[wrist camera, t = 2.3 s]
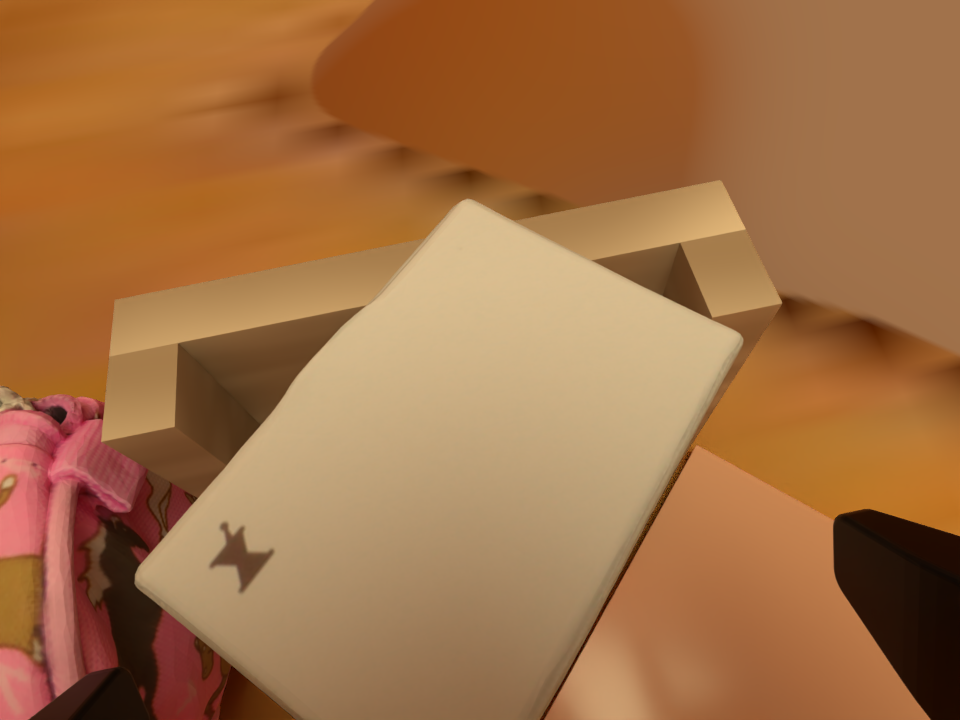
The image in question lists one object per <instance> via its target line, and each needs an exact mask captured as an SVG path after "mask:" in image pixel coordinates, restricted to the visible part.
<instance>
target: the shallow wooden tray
mask: <svg viewBox="0 0 960 720" xmlns="http://www.w3.org/2000/svg"><path fill="white" fill-rule="evenodd" d="M514 222H516V223H518V224H520V225H522V226H524V227H526V228H528V229H530V230H532V231H534V232H536V233H538V234H540V235H542V236H544V237H546V238H548V239H550V240H552V241H554V242H556V243H558V244H560V245H562V246H564V247H566V248H568V249H570V250H572V251H574V252H576V253H578V254H580V255H582V256H584V257H586V258H588V259H590V260H592V261H594V262H595V263H597V264H599V265H601V266H603V267H605V268H607V269H609V270H611V271H613V272H615V273H617V274H619V275H621V276H623V277H625V278H627V279H629V280H631V281H633V282H634V283H636V284H638V285H640V286H642V287H645V288H647V289H649V290H651V291H653V292H655V293H657V294H659V295H661V296H663V297H665V298H667V299H670V300H672V301H674V302H676V303H678V304H680V305H682V306H684V307H686V308H688V309H690V310H692V311H694V312H696V313H698V314H701V315H703V316H705V317H707V318H709V319H711V320H713V321H715V322H718V323H720V324H722V325H724V326H727V327H729V328H731V329H733V330H735V331H737V332H738V333H740V334H741V336H742V338H743V346H742V348H741V350H740V352H739V354H738V356H737V357H736V359H735V361H734V363H733V364H732V366H731V368H730V370H729V371H728V373H727V375H726V377H725V378H724V380H723V382H722V384H721V386H720V387H719V389H718V391H717V393H716V395H715V397H714V399H713V401H712V402H711V404H710V406H709V408H708V410H707V412H706V414H705V416H704V417H703V419H702V421H701V423H700V425H699V427H698V429H697V431H696V433H695V434H694V436H693V438H692V440H691V442H690V444H689V446H688V447H687V449H686V451H685V453H684V455H685V454H686V452H687V451H688V449H689V447H690V446H691V444H692V443H693V441H694V440H695V438H696V437H697V435H698V434H699V432H700V430H701V429H702V427H703V426H704V424H705V423H706V421H707V420H708V418H709V416H710V415H711V413H712V412H713V410H714V409H715V407H716V406H717V404H718V402H719V401H720V399H721V398H722V396H723V395H724V393H725V392H726V390H727V388H728V387H729V385H730V384H731V382H732V381H733V379H734V378H735V376H736V375H737V373H738V371H739V370H740V368H741V367H742V365H743V364H744V362H745V361H746V359H747V357H748V356H749V354H750V353H751V351H752V350H753V348H754V347H755V345H756V343H757V342H758V340H759V339H760V337H761V336H762V334H763V333H764V331H765V329H766V328H767V326H768V325H769V323H770V322H771V320H772V319H773V317H774V316H775V314H776V312H777V311H778V309H779V308H780V306H781V305H782V302H781V300H780V298H779V296H778V294H777V292H776V290H775V288H774V286H773V283H772V282H771V280H770V277H769V276H768V274H767V272H766V270H765V267H764V266H763V263H762V262H761V259H760V257H759V255H758V253H757V251H756V249H755V247H754V245H753V243H752V241H751V239H750V237H749V235H748V233H747V231H746V229H745V227H744V225H743V223H742V221H741V219H740V217H739V215H738V213H737V211H736V209H735V207H734V205H733V203H732V201H731V199H730V197H729V195H728V193H727V191H726V189H725V187H724V185H723V183H722V181H721V180H719V181H714V182H709V183H704V184H699V185H693V186H688V187H683V188H678V189H673V190H668V191H663V192H658V193H653V194H648V195H643V196H638V197H633V198H628V199H623V200H618V201H613V202H608V203H603V204H597V205H592V206H587V207H582V208H577V209H572V210H567V211H562V212H557V213H552V214H547V215H542V216H537V217H532V218H527V219H522V220H516V221H514ZM425 239H426V238H425ZM425 239H420V240H415V241H410V242H405V243H400V244H395V245H390V246H385V247H380V248H375V249H370V250H365V251H360V252H355V253H350V254H345V255H340V256H335V257H329V258H324V259H319V260H314V261H309V262H304V263H299V264H294V265H289V266H284V267H279V268H274V269H269V270H264V271H259V272H254V273H249V274H244V275H238V276H233V277H228V278H223V279H218V280H213V281H208V282H203V283H198V284H193V285H188V286H183V287H178V288H173V289H168V290H163V291H158V292H153V293H147V294H142V295H137V296H132V297H127V298H122V299H117V300H115V304H114V314H113V324H112V335H111V345H110V355H109V366H108V376H107V386H106V396H105V407H104V417H103V427H102V438H101V442H102V443H104V444H106V445H107V446H109V447H111V448H113V449H114V450H116V451H118V452H119V453H121V454H123V455H125V456H126V457H128V458H130V459H131V460H133V461H135V462H137V463H138V464H140V465H142V466H143V467H145V468H147V469H149V470H150V471H152V472H154V473H155V474H157V475H159V476H161V477H162V478H164V479H166V480H167V481H169V482H171V483H173V484H174V485H176V486H178V487H179V488H181V489H183V490H185V491H186V492H188V493H190V494H191V495H193V496H195V497H197V498H199V497H200V495H201V494H202V493H203V492H204V491H205V490H206V489H207V487H208V486H209V485H210V484H211V483H212V482H213V481H214V479H215V478H216V477H217V476H218V475H219V474H220V473H221V472H222V471H223V470H224V468H225V467H226V466H227V465H228V463H229V462H230V461H231V460H232V458H233V457H234V456H235V455H236V453H237V452H238V451H239V450H240V448H241V447H242V446H243V445H244V444H245V443H246V442H247V440H248V439H249V438H250V437H251V436H252V435H253V434H254V432H255V431H256V430H257V429H258V428H259V427H260V426H261V424H262V423H263V422H264V421H265V420H266V419H267V418H268V416H269V415H270V414H271V413H272V411H273V410H274V409H275V408H276V406H277V405H278V403H279V402H280V401H281V399H282V398H283V397H284V395H285V394H286V392H287V390H288V388H289V387H290V385H291V384H292V382H293V381H294V379H295V378H296V377H297V375H298V374H299V373H300V372H301V371H302V369H303V368H304V367H305V366H306V365H307V364H308V363H309V361H310V360H311V359H312V358H313V357H314V356H315V355H316V354H317V353H318V352H319V351H320V349H321V348H322V347H323V346H324V345H325V344H326V343H327V342H328V341H329V340H330V339H331V338H332V337H333V335H334V334H335V333H336V332H337V331H338V330H339V329H340V328H341V327H342V326H343V325H344V324H345V323H346V322H347V321H349V320H350V319H351V318H352V317H353V316H354V315H356V314H357V313H358V312H359V311H360V310H362V309H363V308H364V307H365V306H366V305H367V304H368V303H369V302H370V301H371V300H372V299H373V298H374V297H375V296H376V295H377V294H378V293H379V291H380V290H381V289H382V288H383V287H384V286H385V284H386V283H387V282H388V281H389V280H390V278H391V277H392V276H393V275H394V274H395V273H396V272H397V270H398V269H399V268H400V267H401V266H402V265H403V264H404V263H405V261H406V260H407V259H408V258H409V257H410V256H411V255H412V253H413V252H414V251H415V250H416V249H417V248H418V247H419V246H420V244H421V243H422V242H423V241H424V240H425ZM684 455H683V457H684ZM683 457H682V458H683ZM682 458H681V460H682Z"/></svg>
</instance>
